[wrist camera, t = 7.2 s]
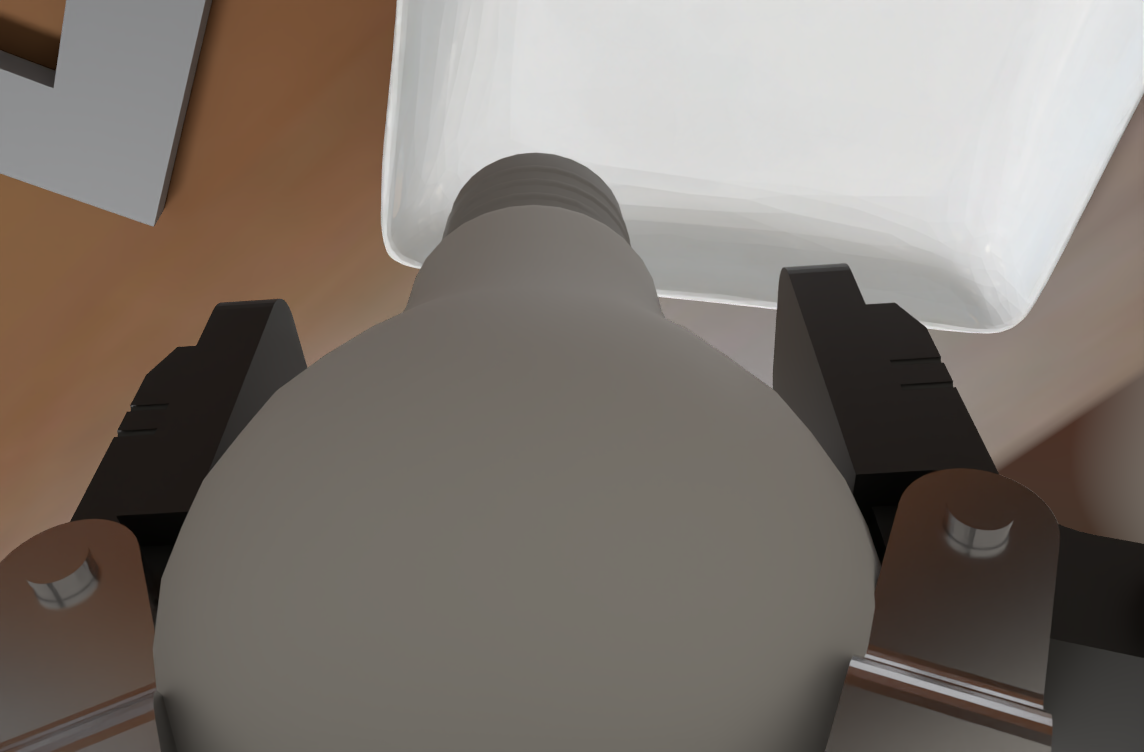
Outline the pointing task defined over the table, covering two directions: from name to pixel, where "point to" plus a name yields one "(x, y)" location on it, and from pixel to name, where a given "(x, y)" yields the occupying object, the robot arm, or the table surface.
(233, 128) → the table surface
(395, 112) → the salad plate
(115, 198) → the bulb socket stand
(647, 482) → the lightbulb
